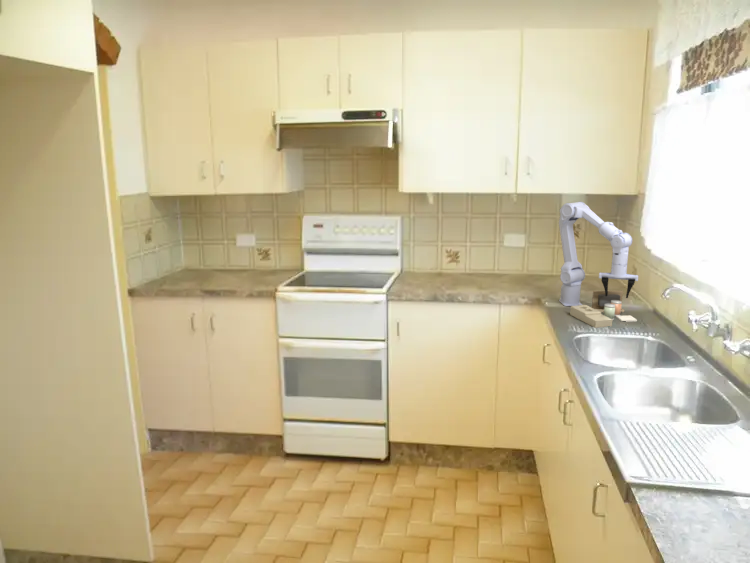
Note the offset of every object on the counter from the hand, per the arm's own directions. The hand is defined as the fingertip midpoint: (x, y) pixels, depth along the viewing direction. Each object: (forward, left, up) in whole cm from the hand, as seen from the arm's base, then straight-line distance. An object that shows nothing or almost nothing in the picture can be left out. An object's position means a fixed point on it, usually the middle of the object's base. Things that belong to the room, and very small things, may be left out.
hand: (616, 296), depth 233 cm
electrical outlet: (+6, -12, -9) cm, 16 cm away
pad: (+6, +2, -8) cm, 10 cm away
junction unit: (-7, -1, -8) cm, 10 cm away
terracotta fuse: (0, 0, -8) cm, 8 cm away
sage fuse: (+5, -5, -8) cm, 10 cm away
